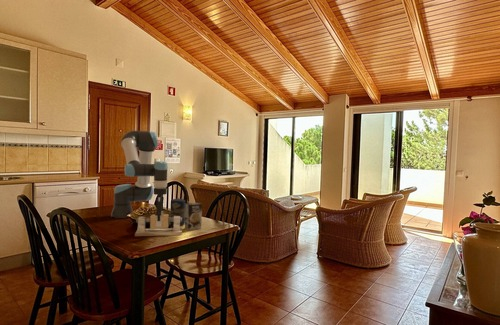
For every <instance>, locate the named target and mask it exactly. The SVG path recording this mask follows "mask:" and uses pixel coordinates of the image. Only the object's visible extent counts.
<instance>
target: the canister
mask: <svg viewBox="0 0 500 325" xmlns="http://www.w3.org/2000/svg"><path fill="white" fill-rule="evenodd" d="M185 208H186V200H185V199H183V198H179V197H178V198H173V199H171V200H170V211H169V212H170V214H169V218H174V216H180V217H182V221H181V222H180V226H183V225H185ZM169 224H170V225H171V226H174V222H169Z"/></svg>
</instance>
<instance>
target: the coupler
mask: <svg viewBox="0 0 500 325" xmlns="http://www.w3.org/2000/svg"><path fill="white" fill-rule="evenodd" d="M155 214H156V213H155ZM155 214H151V215H150V217H149V218H150V222H149V224H150V225H149V229H164V228H169V226H170V225H169V224H170V222H168V218H170V214H168V213H166V214H165V213H163V214H161V227H156V216H155Z"/></svg>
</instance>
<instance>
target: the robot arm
mask: <svg viewBox="0 0 500 325" xmlns="http://www.w3.org/2000/svg"><path fill="white" fill-rule="evenodd" d="M158 144H159V143H158V136H157V133H156V132H155V131H149V130H148V131H146V130H129V131H127V132H125V133H124V134H123V135H122V138H121V139H120V146H121V148H122V149H123V153H124V157H125V162H126V164H125V165H124V176H125V177H131V178H133V177H137V181H136V182H135V183H134V185H132V183H125V184H119V185H116V186H115V187H114V189H113V190H114V192H113V197H114V198H113V208H112V211H111V213H110V218H112V217H114V218H113V219H128V218H127V215H128V214H130V213H131V212H133V213H134V210H133V208H132V207H133V206H132V203H134V202H147V201H150V200H152V198H153V195H157V197H156V199H155V200H156V212H155V216H156V227H161V214H164V211H165V209H164V200H165V199H164V198H165V197H164V195H167V193H168V188H167V187H168V168H169V167H168V162H167V161H163V160H162V161H154V162H153V163H152V158H153V152H155V150H156V149H157V148H158ZM137 150H138V151H139V153H138V151H137ZM151 177H153V182H152V183H151V182H150V180H151ZM152 184H153V185H152Z"/></svg>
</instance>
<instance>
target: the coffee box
mask: <svg viewBox="0 0 500 325" xmlns="http://www.w3.org/2000/svg"><path fill="white" fill-rule="evenodd" d="M202 215H203V204H202V202H201V203H200V202H188V203H186V202H185V223H184V229H186V230H187V231H192V230H193V231H194V230H201V229H202V223H203V222H202V220H203V219H202V217H203V216H202Z"/></svg>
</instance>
